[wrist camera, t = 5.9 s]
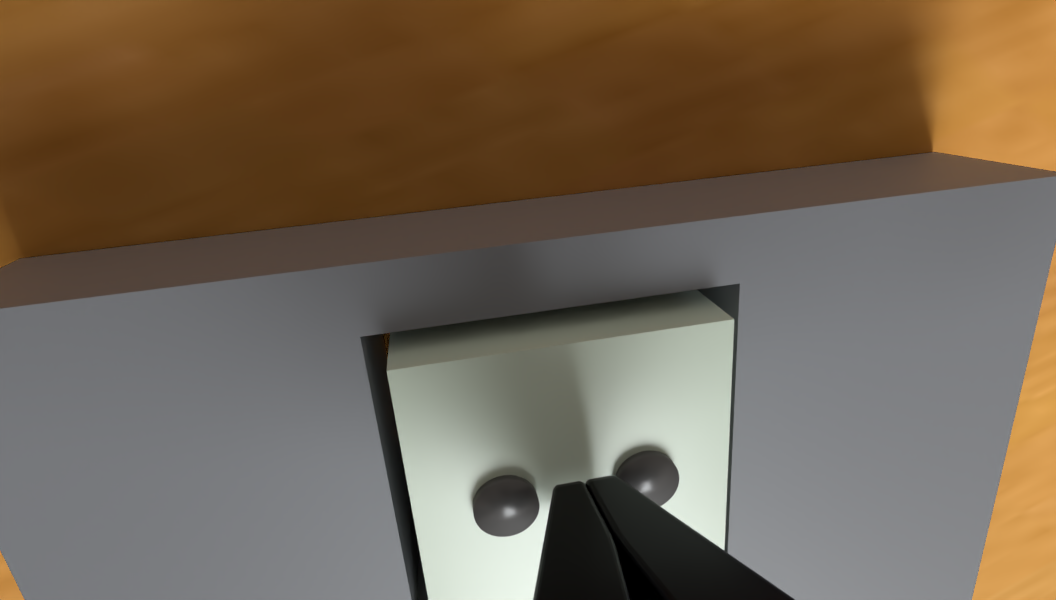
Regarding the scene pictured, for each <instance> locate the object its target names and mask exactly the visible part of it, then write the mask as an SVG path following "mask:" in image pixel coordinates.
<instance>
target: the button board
mask: <svg viewBox="0 0 1056 600" xmlns="http://www.w3.org/2000/svg"><path fill="white" fill-rule="evenodd" d="M1055 243H1056V172H1055V171H1049V170H1043V169H1036V168H1030V167H1024V166H1018V165H1012V164H1006V163H1000V162H993V161H987V160H981V159H975V158H969V157H963V156H957V155H951V154H944V153H938V152H931V153H922V154H913V155H905V156H896V157H888V158H879V159H870V160H862V161H853V162H845V163H836V164H828V165H819V166H810V167H802V168H793V169H785V170H776V171H767V172H759V173H750V174H742V175H733V176H724V177H716V178H707V179H699V180H690V181H681V182H673V183H664V184H656V185H647V186H639V187H630V188H621V189H613V190H604V191H596V192H587V193H578V194H570V195H561V196H553V197H544V198H535V199H527V200H518V201H510V202H501V203H492V204H484V205H475V206H467V207H458V208H450V209H441V210H432V211H424V212H415V213H407V214H398V215H389V216H381V217H372V218H364V219H355V220H346V221H338V222H329V223H321V224H312V225H303V226H295V227H286V228H278V229H269V230H260V231H252V232H243V233H235V234H226V235H218V236H209V237H200V238H192V239H183V240H175V241H166V242H157V243H149V244H140V245H132V246H123V247H114V248H106V249H97V250H89V251H80V252H71V253H63V254H54V255H46V256H37V257H29V258H20V259H18V260H16V261H14V262H12V263H10V264H8V265H6V266H4V267H2V268H0V551H1V553H2V555H3V557H4V559H5V561H6V563H7V565H8V567H9V569H10V571H11V573H12V575H13V577H14V579H15V581H16V583H17V585H18V587H19V589H20V591H21V593H22V595H23V597H24V599H25V600H428V595H427V589H426V584H425V578H424V573H423V567H422V562H421V556H420V551H419V545H418V540H417V535H416V529H415V524H414V518H413V513H412V507H411V502H410V496H409V491H408V485H407V480H406V474H405V469H404V464H403V458H402V453H401V447H400V442H399V436H398V431H397V425H396V420H395V414H394V409H393V403H392V398H391V392H390V387H389V382H388V376H387V360H388V359H387V354H386V348H385V343H384V337H383V334H384V333H391V332H398V331H405V330H412V329H420V328H427V327H434V326H441V325H448V324H455V323H462V322H469V321H476V320H484V319H491V318H498V317H505V316H512V315H519V314H526V313H533V312H541V311H548V310H555V309H562V308H569V307H576V306H583V305H590V304H598V303H605V302H612V301H619V300H626V299H633V298H640V297H647V296H655V295H662V294H669V293H676V292H683V291H690V290H698V291H699V292H700V293H702V294H703V295H704V296H705V297H707V298H708V299H709V300H711V301H712V302H713V303H714V304H716V305H717V306H718V307H719V308H721V309H722V310H723V311H724V312H726V313H727V314H728V315H730V316H731V317H732V318H733V319H734V339H733V362H732V386H731V409H730V432H729V455H728V478H727V502H726V525H725V548H724V551H726V552H727V553H729V554H730V555H731V556H733V557H734V558H736V559H737V560H739V561H740V562H742V563H743V564H745V565H746V566H747V567H749V568H750V569H752V570H753V571H755V572H756V573H758V574H759V575H760V576H762V577H763V578H765V579H766V580H768V581H769V582H771V583H772V584H773V585H775V586H776V587H778V588H779V589H781V590H782V591H784V592H785V593H786V594H788V595H789V596H791V597H792V598H794V599H795V600H972V596H973V592H974V588H975V584H976V579H977V575H978V571H979V566H980V562H981V558H982V554H983V549H984V545H985V541H986V537H987V532H988V528H989V524H990V520H991V515H992V511H993V507H994V503H995V498H996V494H997V490H998V486H999V481H1000V477H1001V473H1002V469H1003V464H1004V460H1005V456H1006V452H1007V447H1008V443H1009V439H1010V435H1011V430H1012V426H1013V422H1014V418H1015V413H1016V409H1017V405H1018V401H1019V396H1020V392H1021V388H1022V384H1023V379H1024V375H1025V371H1026V367H1027V362H1028V358H1029V354H1030V349H1031V345H1032V341H1033V337H1034V332H1035V328H1036V324H1037V320H1038V315H1039V311H1040V307H1041V303H1042V298H1043V294H1044V290H1045V286H1046V281H1047V277H1048V273H1049V269H1050V264H1051V260H1052V256H1053V252H1054V247H1055Z"/></svg>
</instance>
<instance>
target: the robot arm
mask: <svg viewBox="0 0 1056 600" xmlns="http://www.w3.org/2000/svg"><path fill="white" fill-rule="evenodd" d="M533 600H795V599H794V598H792V597H791V596H789V595H788V594H786V593H785V592H784V591H782V590H781V589H779V588H778V587H776V586H775V585H773V584H772V583H771V582H769V581H768V580H766V579H765V578H763V577H762V576H760V575H759V574H758V573H756V572H755V571H753V570H752V569H750V568H749V567H747V566H746V565H745V564H743V563H742V562H740V561H739V560H737V559H736V558H734V557H733V556H731V555H730V554H729V553H727V552H726V551H724V550H723V549H721V548H720V547H718V546H717V545H716V544H714V543H713V542H711V541H710V540H708V539H707V538H705V537H704V536H703V535H701V534H700V533H698V532H697V531H695V530H694V529H692V528H691V527H690V526H688V525H687V524H685V523H684V522H682V521H681V520H679V519H678V518H676V517H675V516H674V515H672V514H671V513H669V512H668V511H666V510H665V509H663V508H662V507H661V506H659V505H658V504H656V503H655V502H653V501H652V500H650V499H649V498H648V497H646V496H645V495H643V494H642V493H640V492H639V491H637V490H636V489H635V488H633V487H632V486H630V485H629V484H627V483H626V482H624V481H623V480H621V479H620V478H619V477H617V476H614V475H609V476H603V477H598V478H592V479H588V480H587V481H586V483H584V482H581V481H576V482H570V483H564V484H559V485H556V486H555V487H554V488H553V492H552V498H551V503H550V509H549V514H548V520H547V525H546V531H545V536H544V542H543V547H542V553H541V558H540V564H539V569H538V575H537V580H536V586H535V591H534V597H533Z"/></svg>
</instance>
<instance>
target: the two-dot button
mask: <svg viewBox="0 0 1056 600" xmlns="http://www.w3.org/2000/svg"><path fill="white" fill-rule="evenodd" d="M733 339H734V319H733V318H732V317H731V316H730V315H728V314H727V313H726V312H724V311H723V310H722V309H721V308H719V307H718V306H717V305H716V304H714V303H713V302H712V301H711V300H709V299H708V298H707V297H705V296H704V295H703V294H702V293H700V292H699V291H698V290H690V291H683V292H676V293H669V294H662V295H655V296H647V297H640V298H633V299H626V300H619V301H612V302H605V303H598V304H590V305H583V306H576V307H569V308H562V309H555V310H548V311H541V312H533V313H526V314H519V315H512V316H505V317H498V318H491V319H484V320H476V321H469V322H462V323H455V324H448V325H441V326H434V327H427V328H420V329H412V330H405V331H398V332H391V333H390V338H389V349H388V360H387V376H388V382H389V387H390V392H391V398H392V403H393V409H394V414H395V420H396V425H397V431H398V436H399V442H400V447H401V453H402V458H403V464H404V469H405V474H406V480H407V485H408V491H409V496H410V502H411V507H412V513H413V518H414V524H415V529H416V535H417V540H418V545H419V551H420V556H421V562H422V567H423V573H424V578H425V584H426V589H427V595H428V600H533V597H534V591H535V586H536V580H537V575H538V569H539V564H540V558H541V553H542V547H543V542H544V536H545V531H546V525H547V520H548V514H549V509H550V503H551V498H552V492H553V488H554V487H555V486H556V485H559V484H564V483H570V482H576V481H581V482H584V483H586V481H587V480H588V479H592V478H598V477H603V476H609V475H614V476H617V477H619V478H620V479H621V480H623V481H624V482H626V483H627V484H629V485H630V486H632V487H633V488H635V489H636V490H637V491H639V492H640V493H642V494H643V495H645V496H646V497H648V498H649V499H650V500H652V501H653V502H655V503H656V504H658V505H659V506H661V507H662V508H663V509H665V510H666V511H668V512H669V513H671V514H672V515H674V516H675V517H676V518H678V519H679V520H681V521H682V522H684V523H685V524H687V525H688V526H690V527H691V528H692V529H694V530H695V531H697V532H698V533H700V534H701V535H703V536H704V537H705V538H707V539H708V540H710V541H711V542H713V543H714V544H716V545H717V546H718V547H720V548H721V549H723V550H724V548H725V525H726V502H727V478H728V455H729V432H730V409H731V386H732V362H733Z"/></svg>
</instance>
